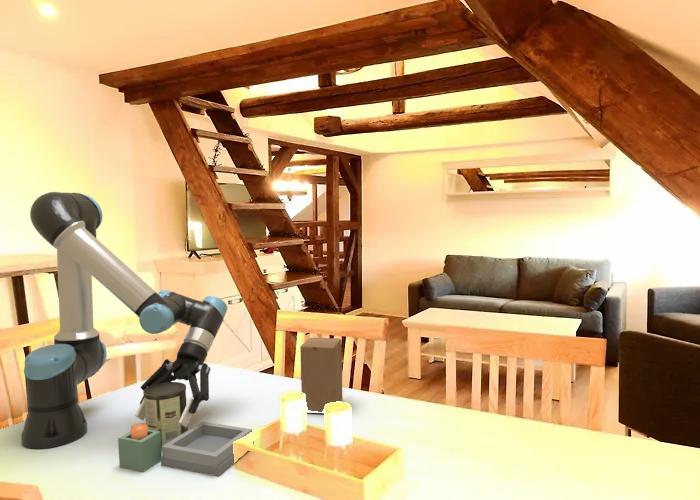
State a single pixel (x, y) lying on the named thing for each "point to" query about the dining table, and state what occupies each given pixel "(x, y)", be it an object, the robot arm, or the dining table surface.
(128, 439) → the green egg cup
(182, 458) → the tray
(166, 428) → the coffee can
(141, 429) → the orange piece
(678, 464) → the dining table surface
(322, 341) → the wooden block
